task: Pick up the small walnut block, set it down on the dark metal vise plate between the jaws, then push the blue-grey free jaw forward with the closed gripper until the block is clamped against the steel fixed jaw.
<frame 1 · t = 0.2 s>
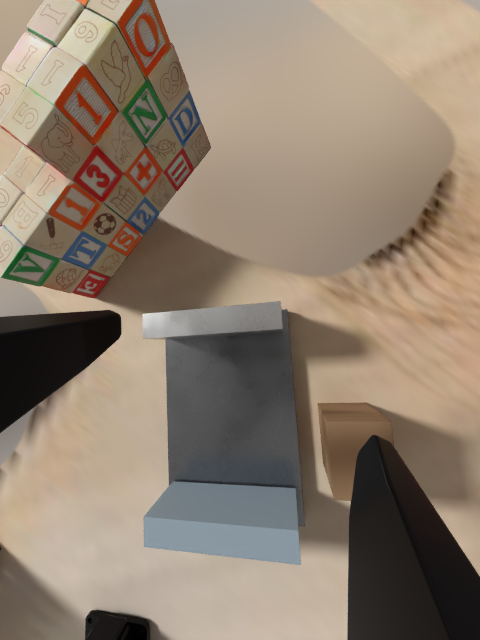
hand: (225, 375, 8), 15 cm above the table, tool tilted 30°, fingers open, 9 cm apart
walnut block: (344, 432, 20), on the table
stack of blocks: (135, 211, 27), on the table
free jaw: (225, 515, 18), point 3 cm above the table, slide at 0.0 cm
vise base: (230, 409, 22), on the table
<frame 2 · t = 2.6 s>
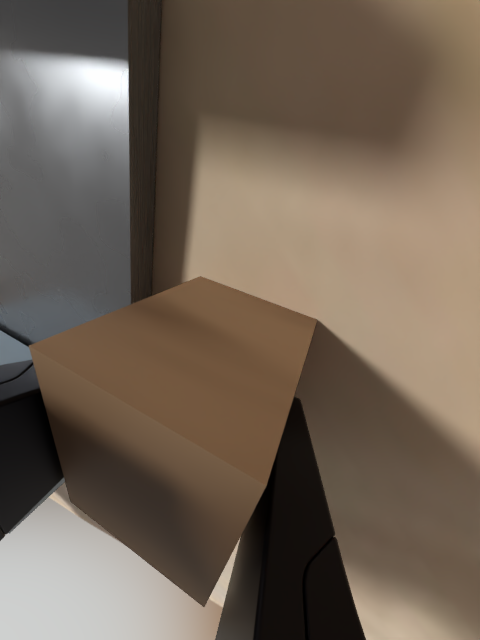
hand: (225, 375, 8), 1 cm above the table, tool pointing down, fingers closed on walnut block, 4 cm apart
walnut block: (238, 358, 9), on the table, touching gripper
vise base: (40, 228, 10), on the table
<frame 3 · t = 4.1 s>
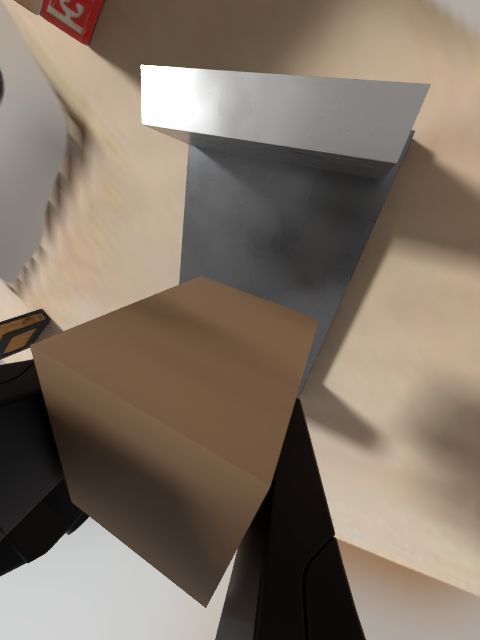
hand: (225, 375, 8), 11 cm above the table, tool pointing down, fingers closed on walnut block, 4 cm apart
walnut block: (239, 358, 9), point 10 cm above the table, touching gripper
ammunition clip: (37, 329, 35), on the table
vise base: (256, 275, 17), on the table
when the fingers open (3 cm above the table, at t = 6.0 s): walnut block drops 1 cm, resting on vise base.
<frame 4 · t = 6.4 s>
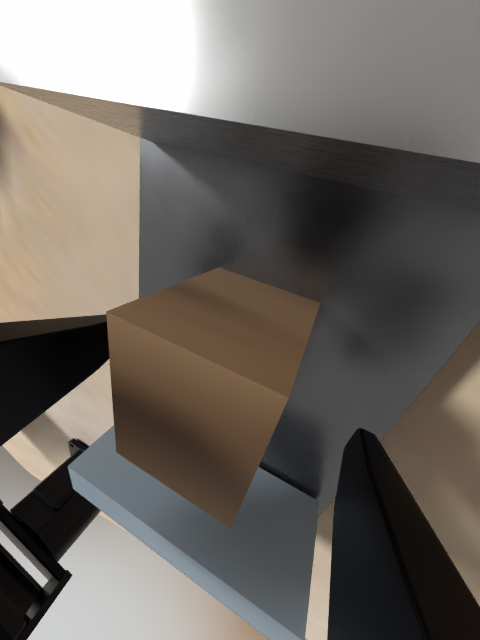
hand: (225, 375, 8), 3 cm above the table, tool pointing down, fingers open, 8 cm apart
walnut block: (250, 339, 10), point 1 cm above the table, touching vise base
free jaw: (196, 495, 11), point 3 cm above the table, slide at 0.0 cm
vise base: (255, 348, 11), on the table
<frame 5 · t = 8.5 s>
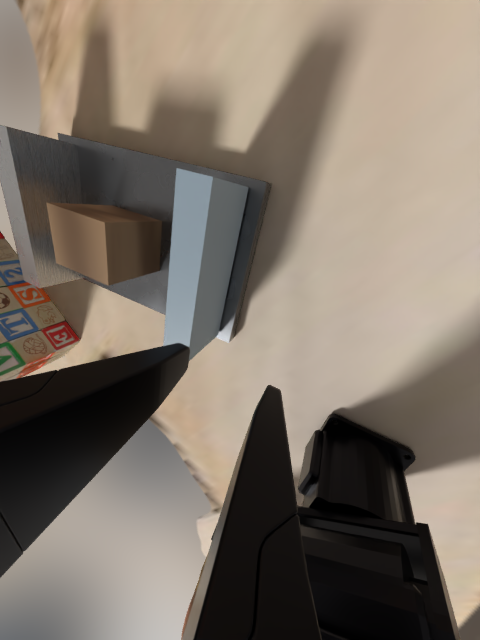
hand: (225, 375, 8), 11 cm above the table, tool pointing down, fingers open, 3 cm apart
walnut block: (136, 238, 20), point 1 cm above the table, touching vise base
stack of blocks: (25, 281, 31), on the table
free jaw: (203, 274, 15), point 3 cm above the table, slide at 0.0 cm
vise base: (154, 240, 20), on the table
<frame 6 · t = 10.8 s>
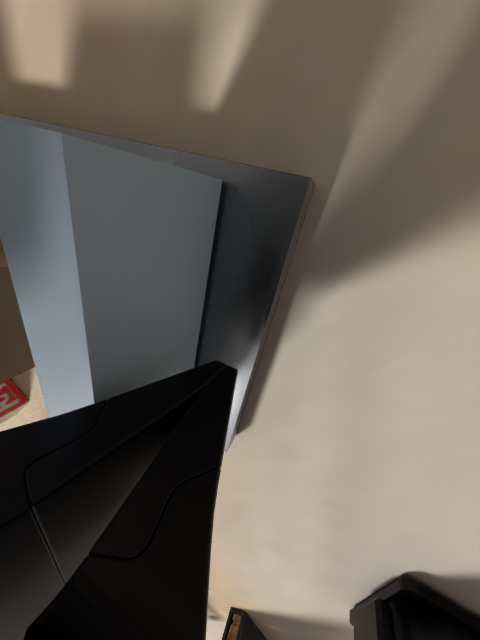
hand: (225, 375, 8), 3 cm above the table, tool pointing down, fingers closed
walnut block: (69, 278, 12), point 1 cm above the table, touching vise base
free jaw: (135, 354, 8), point 3 cm above the table, slide at 1.4 cm, touching gripper
vise base: (102, 278, 12), on the table
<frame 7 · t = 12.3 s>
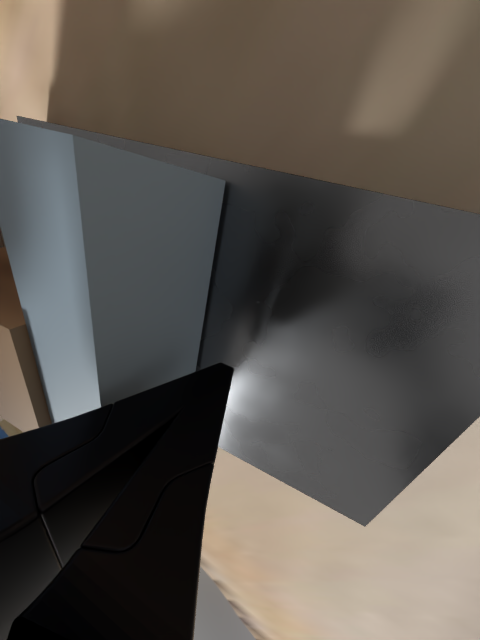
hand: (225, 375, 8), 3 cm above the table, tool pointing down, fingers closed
walnut block: (116, 301, 11), point 1 cm above the table, touching free jaw, vise base
free jaw: (138, 357, 8), point 3 cm above the table, slide at 8.0 cm, touching gripper, walnut block
vise base: (214, 326, 10), on the table
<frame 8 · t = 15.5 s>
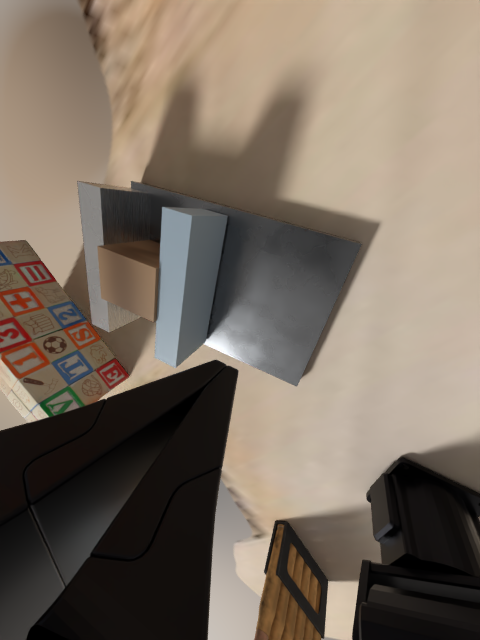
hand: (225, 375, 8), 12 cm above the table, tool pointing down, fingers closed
walnut block: (171, 270, 21), point 1 cm above the table, touching vise base
stack of blocks: (73, 319, 32), on the table
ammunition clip: (302, 549, 31), on the table
free jaw: (189, 290, 18), point 3 cm above the table, slide at 8.0 cm
vise base: (221, 283, 20), on the table
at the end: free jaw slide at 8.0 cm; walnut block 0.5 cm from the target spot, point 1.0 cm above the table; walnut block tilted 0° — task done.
